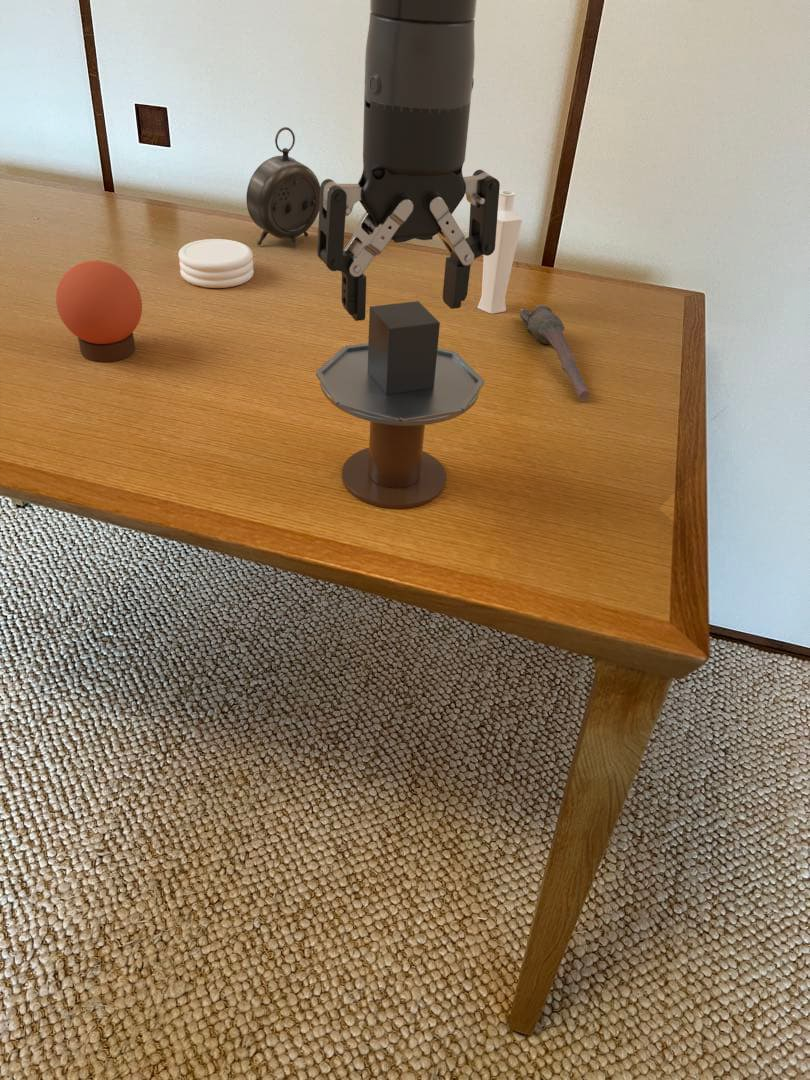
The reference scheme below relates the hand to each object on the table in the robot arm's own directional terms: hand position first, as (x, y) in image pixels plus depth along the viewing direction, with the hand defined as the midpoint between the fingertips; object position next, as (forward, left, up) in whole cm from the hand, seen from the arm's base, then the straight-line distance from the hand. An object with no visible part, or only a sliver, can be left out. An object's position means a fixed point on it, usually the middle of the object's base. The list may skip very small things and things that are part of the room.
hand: (404, 310), depth 67 cm
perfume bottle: (+28, +33, -17) cm, 47 cm away
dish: (0, 0, -17) cm, 17 cm away
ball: (-22, +34, -17) cm, 44 cm away
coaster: (-5, +53, -17) cm, 56 cm away
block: (0, 0, -6) cm, 6 cm away
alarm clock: (+8, +63, -17) cm, 66 cm away
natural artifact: (+28, +18, -17) cm, 37 cm away
